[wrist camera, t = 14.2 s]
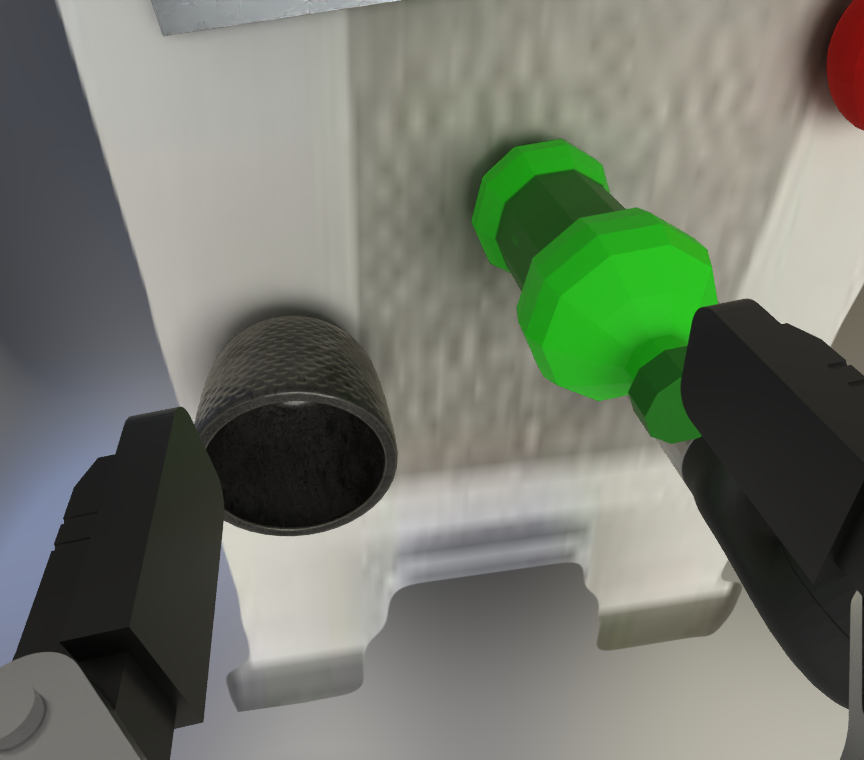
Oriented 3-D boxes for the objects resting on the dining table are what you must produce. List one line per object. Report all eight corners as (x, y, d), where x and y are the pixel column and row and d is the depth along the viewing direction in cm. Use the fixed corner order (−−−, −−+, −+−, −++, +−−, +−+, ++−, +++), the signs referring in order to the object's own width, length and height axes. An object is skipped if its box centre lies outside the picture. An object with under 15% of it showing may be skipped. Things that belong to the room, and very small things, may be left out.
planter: (356, 430, 59) (371, 543, 49) (198, 412, 54) (177, 532, 44) (397, 302, 51) (424, 405, 41) (216, 270, 46) (196, 376, 36)
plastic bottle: (505, 93, 42) (687, 269, 23) (619, 163, 47) (851, 359, 28) (432, 220, 47) (532, 456, 28) (542, 273, 52) (694, 506, 32)
